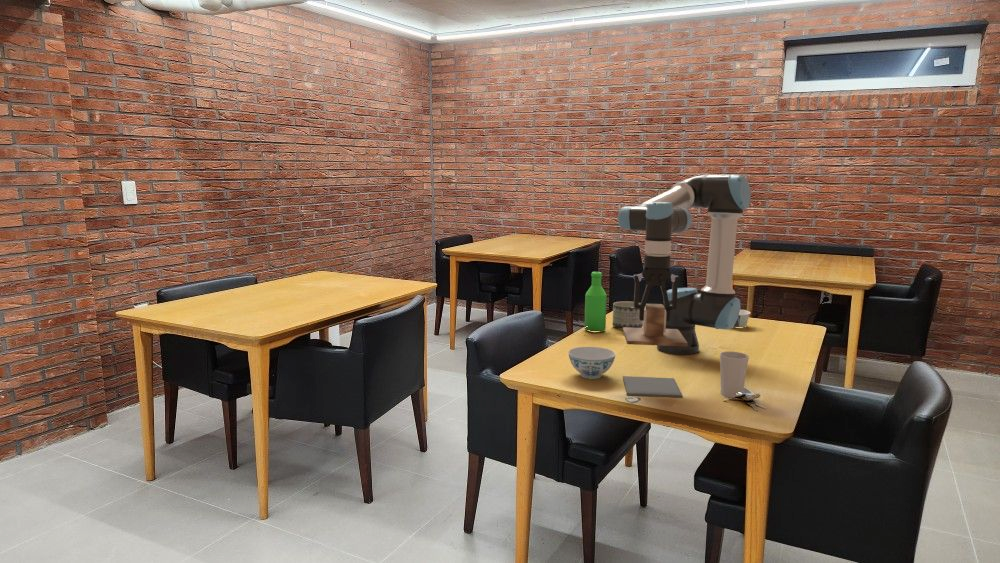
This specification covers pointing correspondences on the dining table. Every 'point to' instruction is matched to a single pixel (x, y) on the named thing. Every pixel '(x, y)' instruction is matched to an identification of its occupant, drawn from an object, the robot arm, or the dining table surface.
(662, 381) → the mat
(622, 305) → the planter
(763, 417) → the dining table surface
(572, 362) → the chinaware
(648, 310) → the lid
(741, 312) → the food container
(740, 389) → the cup
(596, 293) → the bottle
